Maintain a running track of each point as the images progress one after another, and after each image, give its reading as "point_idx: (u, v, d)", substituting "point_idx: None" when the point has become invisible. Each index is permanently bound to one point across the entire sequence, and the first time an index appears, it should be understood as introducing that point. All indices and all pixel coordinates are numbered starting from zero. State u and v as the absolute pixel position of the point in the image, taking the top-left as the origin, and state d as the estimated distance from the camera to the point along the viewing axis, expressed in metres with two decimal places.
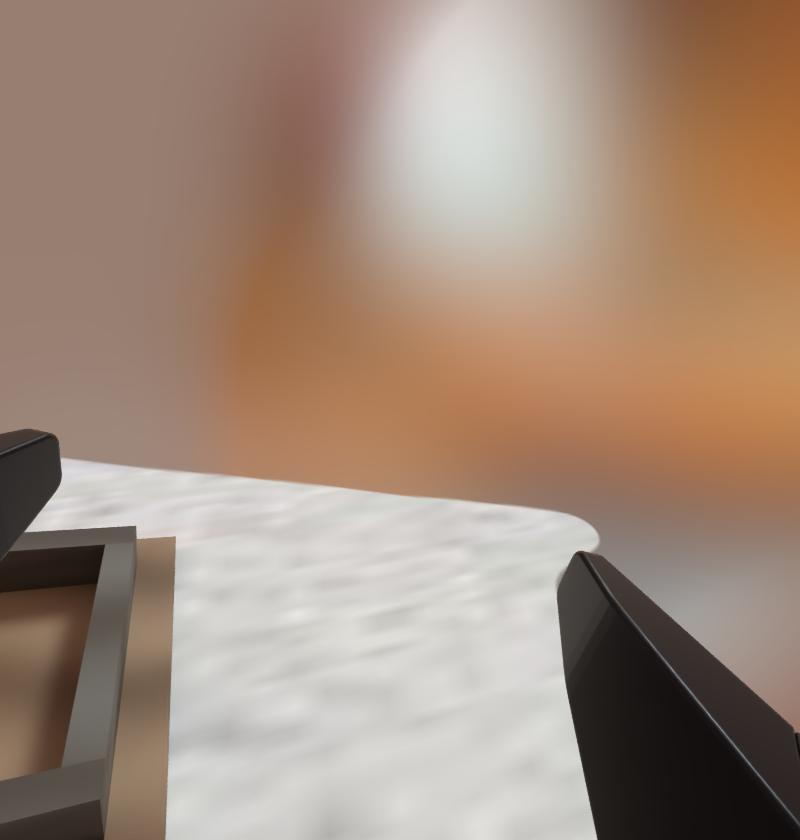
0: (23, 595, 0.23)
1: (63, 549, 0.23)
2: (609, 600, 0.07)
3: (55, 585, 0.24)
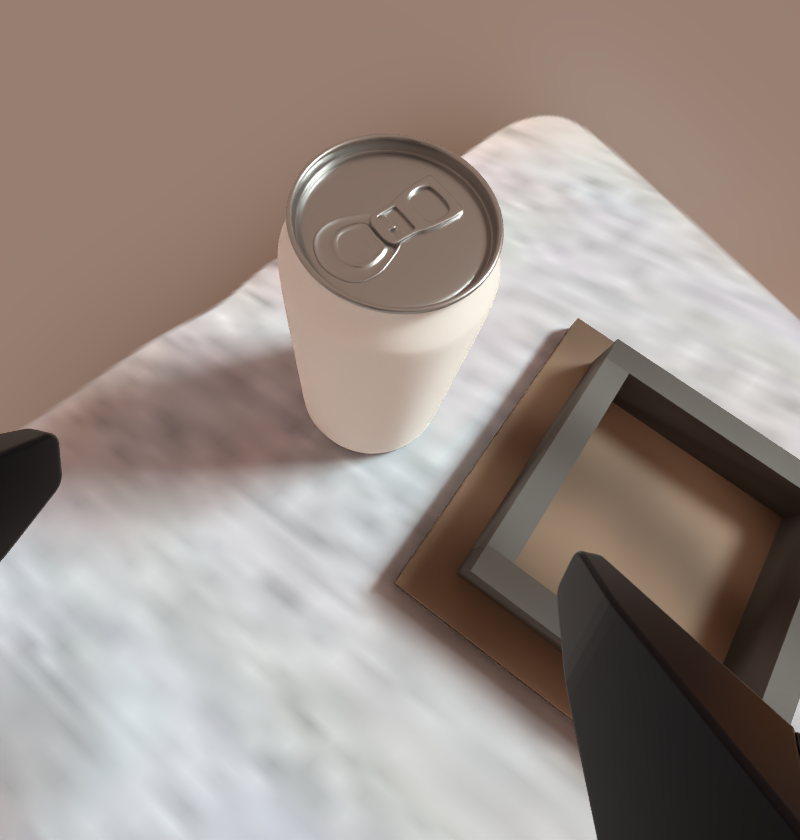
0: (717, 480, 0.23)
1: (794, 486, 0.21)
2: (609, 600, 0.07)
3: (743, 489, 0.23)
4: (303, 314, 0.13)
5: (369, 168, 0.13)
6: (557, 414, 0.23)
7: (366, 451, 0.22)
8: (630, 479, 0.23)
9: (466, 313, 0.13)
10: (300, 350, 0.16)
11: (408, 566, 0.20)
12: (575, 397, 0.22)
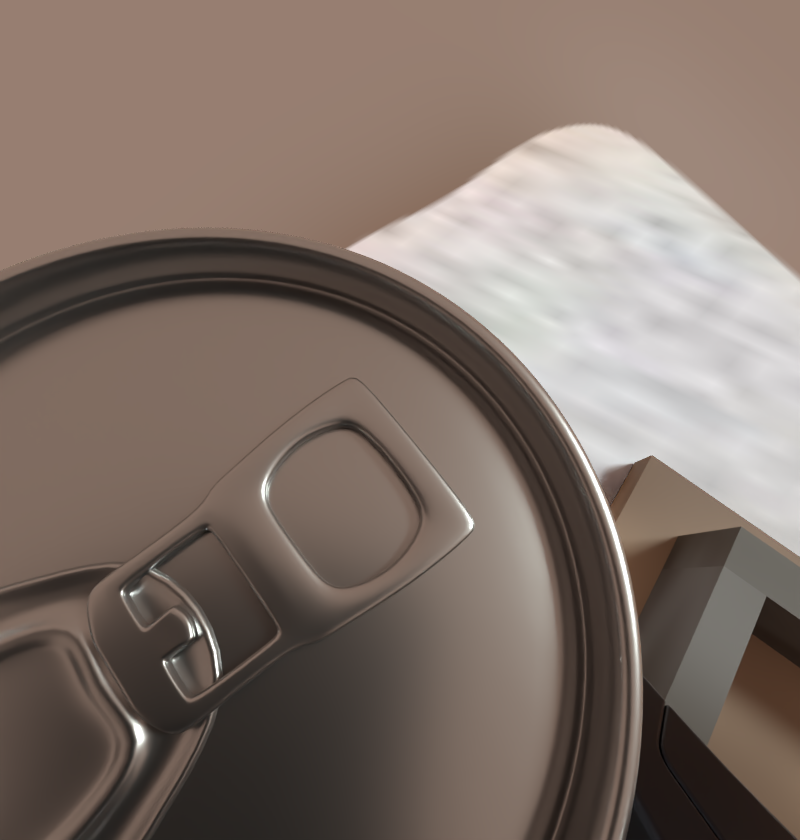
0: None
1: None
2: None
3: None
4: None
5: (134, 355, 0.04)
6: None
7: None
8: (757, 762, 0.13)
9: None
10: None
11: None
12: (666, 629, 0.13)
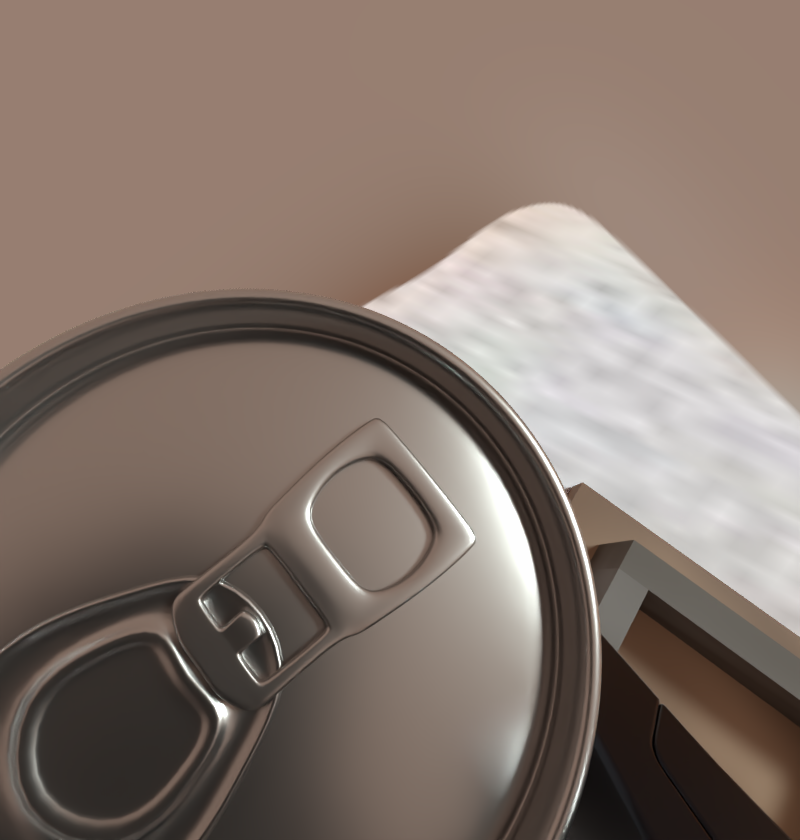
0: (756, 705, 0.18)
1: None
2: None
3: (790, 719, 0.18)
4: None
5: (190, 398, 0.04)
6: None
7: None
8: None
9: None
10: None
11: None
12: None
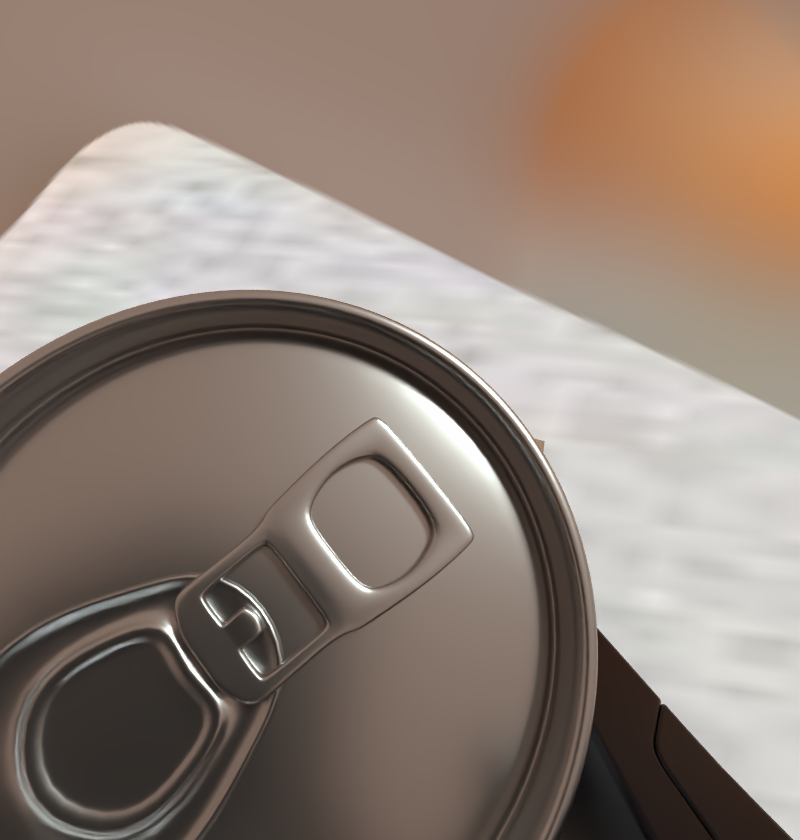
0: None
1: None
2: None
3: None
4: None
5: (192, 398, 0.04)
6: None
7: None
8: None
9: None
10: None
11: None
12: None
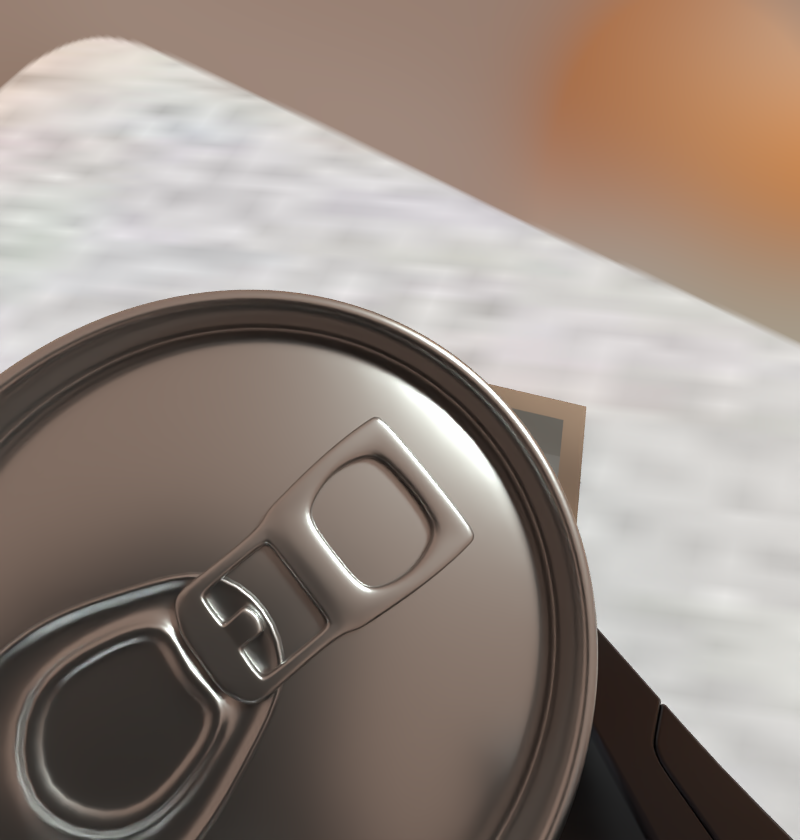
0: None
1: None
2: None
3: None
4: None
5: (192, 397, 0.04)
6: None
7: None
8: None
9: None
10: None
11: None
12: None
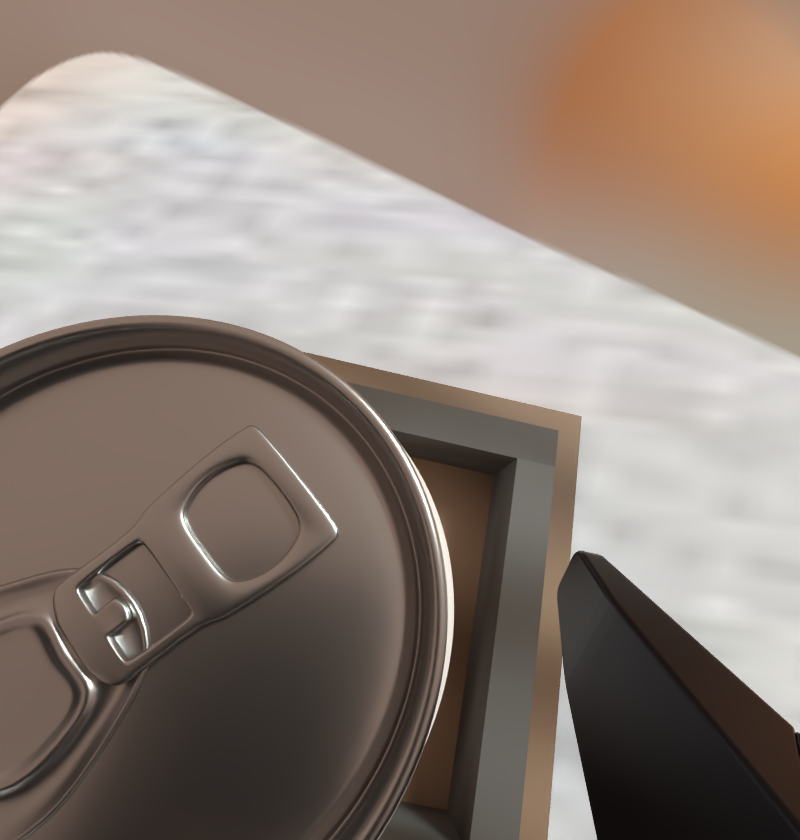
0: None
1: (462, 446, 0.15)
2: (609, 600, 0.07)
3: (434, 461, 0.17)
4: None
5: (86, 413, 0.05)
6: None
7: None
8: None
9: None
10: None
11: None
12: None
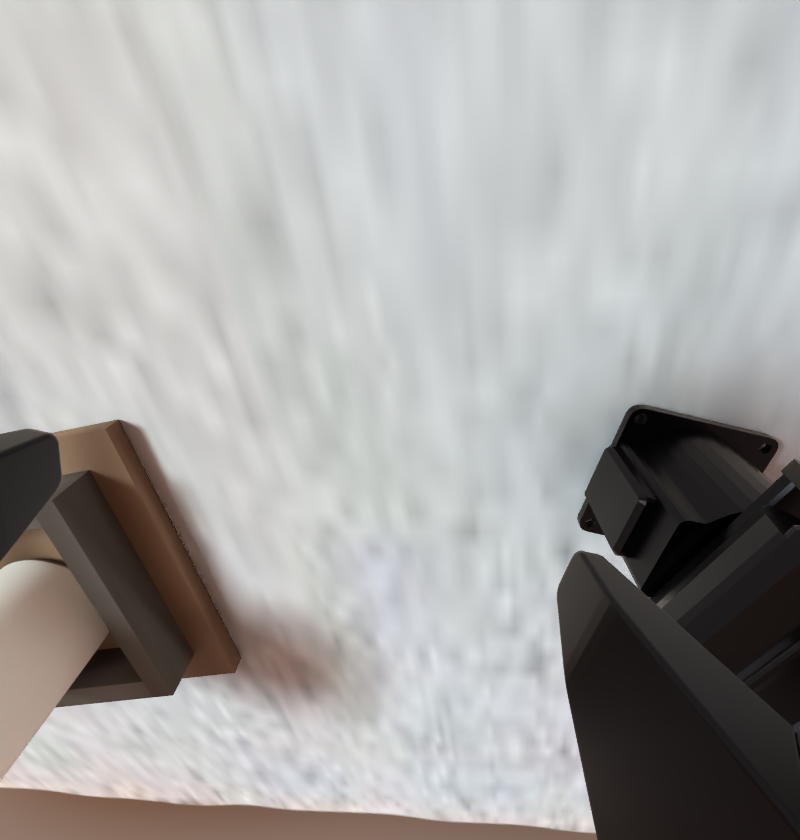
0: None
1: None
2: (609, 600, 0.07)
3: None
4: None
5: None
6: None
7: None
8: None
9: None
10: (3, 776, 0.20)
11: (221, 673, 0.29)
12: None
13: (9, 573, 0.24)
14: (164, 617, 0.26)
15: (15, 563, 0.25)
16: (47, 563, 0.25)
